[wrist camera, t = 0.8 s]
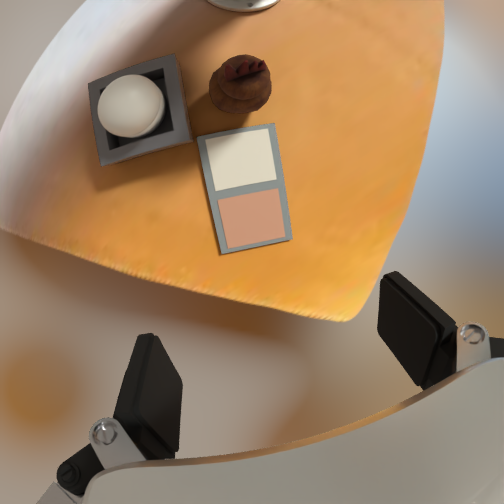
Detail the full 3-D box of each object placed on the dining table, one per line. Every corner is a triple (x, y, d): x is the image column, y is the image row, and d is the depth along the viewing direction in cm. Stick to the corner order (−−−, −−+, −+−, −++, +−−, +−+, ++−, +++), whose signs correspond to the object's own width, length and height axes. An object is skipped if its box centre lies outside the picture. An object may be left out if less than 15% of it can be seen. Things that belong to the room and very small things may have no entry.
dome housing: (103, 90, 27) (87, 83, 23) (179, 66, 28) (174, 53, 23) (115, 163, 31) (100, 166, 27) (193, 141, 32) (189, 140, 27)
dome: (108, 93, 25) (83, 82, 18) (162, 75, 25) (148, 57, 19) (116, 145, 27) (92, 145, 21) (171, 128, 28) (158, 122, 21)
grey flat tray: (196, 137, 32) (196, 136, 31) (273, 123, 32) (274, 123, 32) (221, 252, 38) (221, 254, 37) (291, 237, 38) (292, 239, 38)
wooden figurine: (209, 116, 31) (204, 91, 17) (211, 76, 29) (207, 28, 15) (263, 117, 32) (294, 94, 18) (263, 77, 30) (293, 33, 16)
